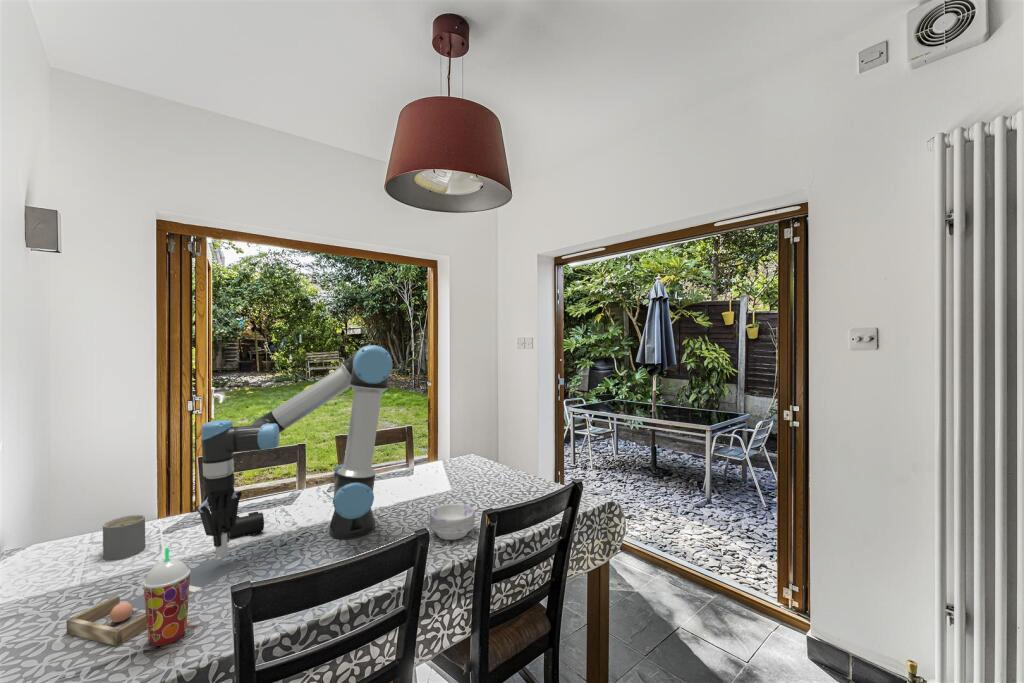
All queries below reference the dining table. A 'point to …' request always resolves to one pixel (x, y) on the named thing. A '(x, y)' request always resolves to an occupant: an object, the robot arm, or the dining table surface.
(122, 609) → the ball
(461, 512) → the paper bowls
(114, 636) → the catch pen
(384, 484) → the dining table surface
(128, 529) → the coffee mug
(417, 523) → the dining table surface
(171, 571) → the smoothie
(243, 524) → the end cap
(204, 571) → the lane
